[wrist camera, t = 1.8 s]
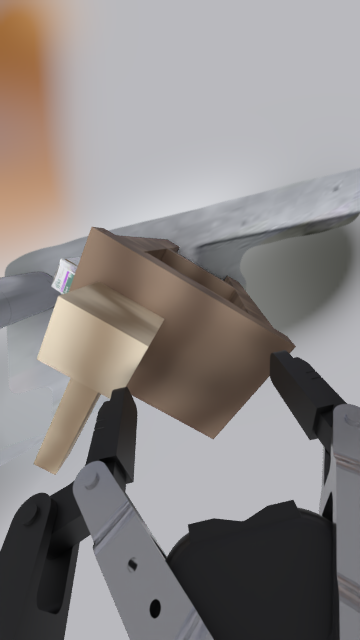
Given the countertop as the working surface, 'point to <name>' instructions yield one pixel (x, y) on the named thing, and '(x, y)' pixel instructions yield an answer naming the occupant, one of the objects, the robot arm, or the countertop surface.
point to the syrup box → (65, 274)
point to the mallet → (90, 358)
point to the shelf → (186, 329)
